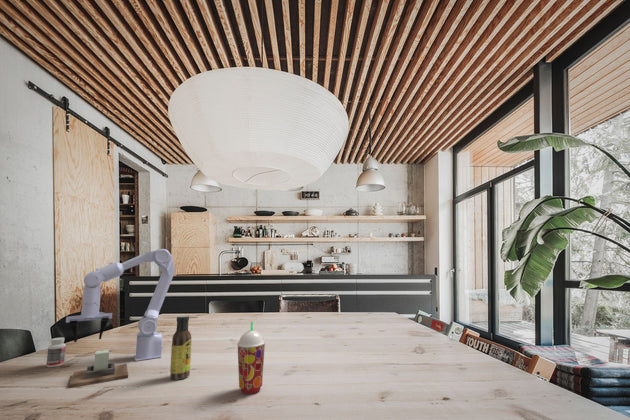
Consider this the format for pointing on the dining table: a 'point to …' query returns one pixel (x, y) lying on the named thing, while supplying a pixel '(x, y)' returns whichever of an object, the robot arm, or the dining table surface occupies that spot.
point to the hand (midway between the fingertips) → (88, 340)
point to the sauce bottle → (181, 349)
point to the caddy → (98, 375)
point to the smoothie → (251, 361)
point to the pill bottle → (56, 353)
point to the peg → (101, 360)
